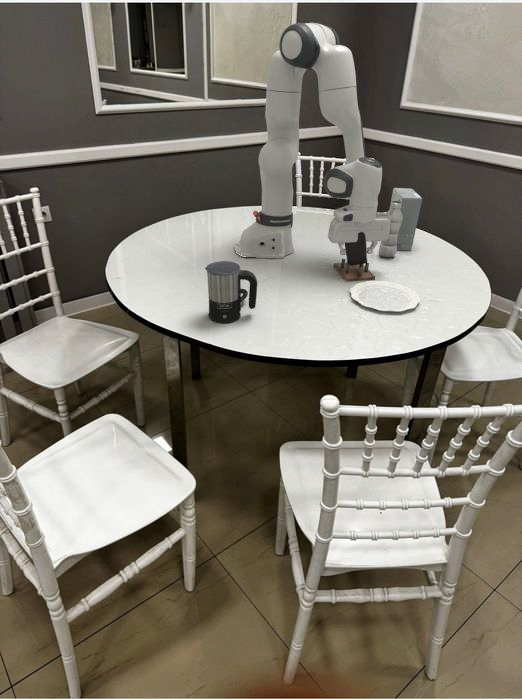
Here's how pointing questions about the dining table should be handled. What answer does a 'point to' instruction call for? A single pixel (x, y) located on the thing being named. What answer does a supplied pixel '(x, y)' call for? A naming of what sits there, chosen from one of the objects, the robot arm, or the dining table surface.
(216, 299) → the milk frother
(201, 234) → the dining table surface
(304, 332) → the dining table surface
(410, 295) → the plate
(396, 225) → the plastic bottle
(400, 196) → the hard drive box
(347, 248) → the battery charger
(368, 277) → the brown pegboard
